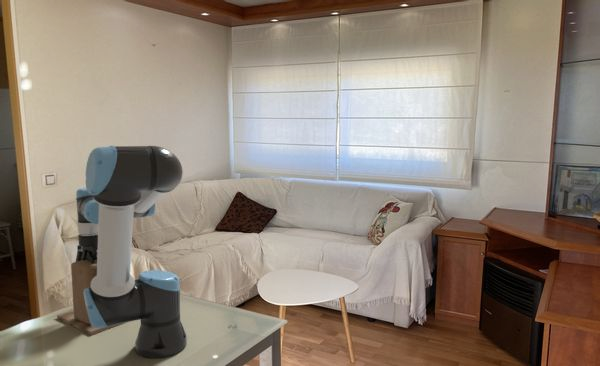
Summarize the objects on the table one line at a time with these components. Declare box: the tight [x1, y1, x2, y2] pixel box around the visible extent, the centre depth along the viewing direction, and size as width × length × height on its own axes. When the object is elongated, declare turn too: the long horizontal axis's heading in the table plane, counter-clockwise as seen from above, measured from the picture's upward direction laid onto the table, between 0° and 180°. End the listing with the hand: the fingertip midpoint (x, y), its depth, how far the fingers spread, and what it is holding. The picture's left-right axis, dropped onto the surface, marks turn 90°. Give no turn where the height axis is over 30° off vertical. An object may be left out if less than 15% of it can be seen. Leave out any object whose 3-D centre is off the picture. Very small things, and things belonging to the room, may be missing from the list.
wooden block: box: [70, 260, 97, 324], centre depth 158 cm, size 10×10×20 cm
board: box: [56, 309, 124, 336], centre depth 160 cm, size 22×14×1 cm, turn 54°
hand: (93, 294), depth 159 cm, fingers open, 12 cm apart
